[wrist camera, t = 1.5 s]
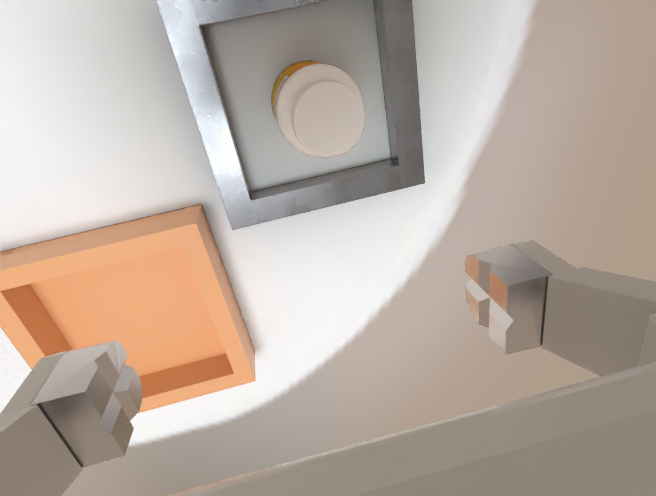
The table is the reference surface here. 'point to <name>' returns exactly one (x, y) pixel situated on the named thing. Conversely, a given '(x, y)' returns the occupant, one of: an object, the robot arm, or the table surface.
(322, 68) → the supplement bottle
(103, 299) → the tray
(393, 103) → the dark grey square frame
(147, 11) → the table surface
